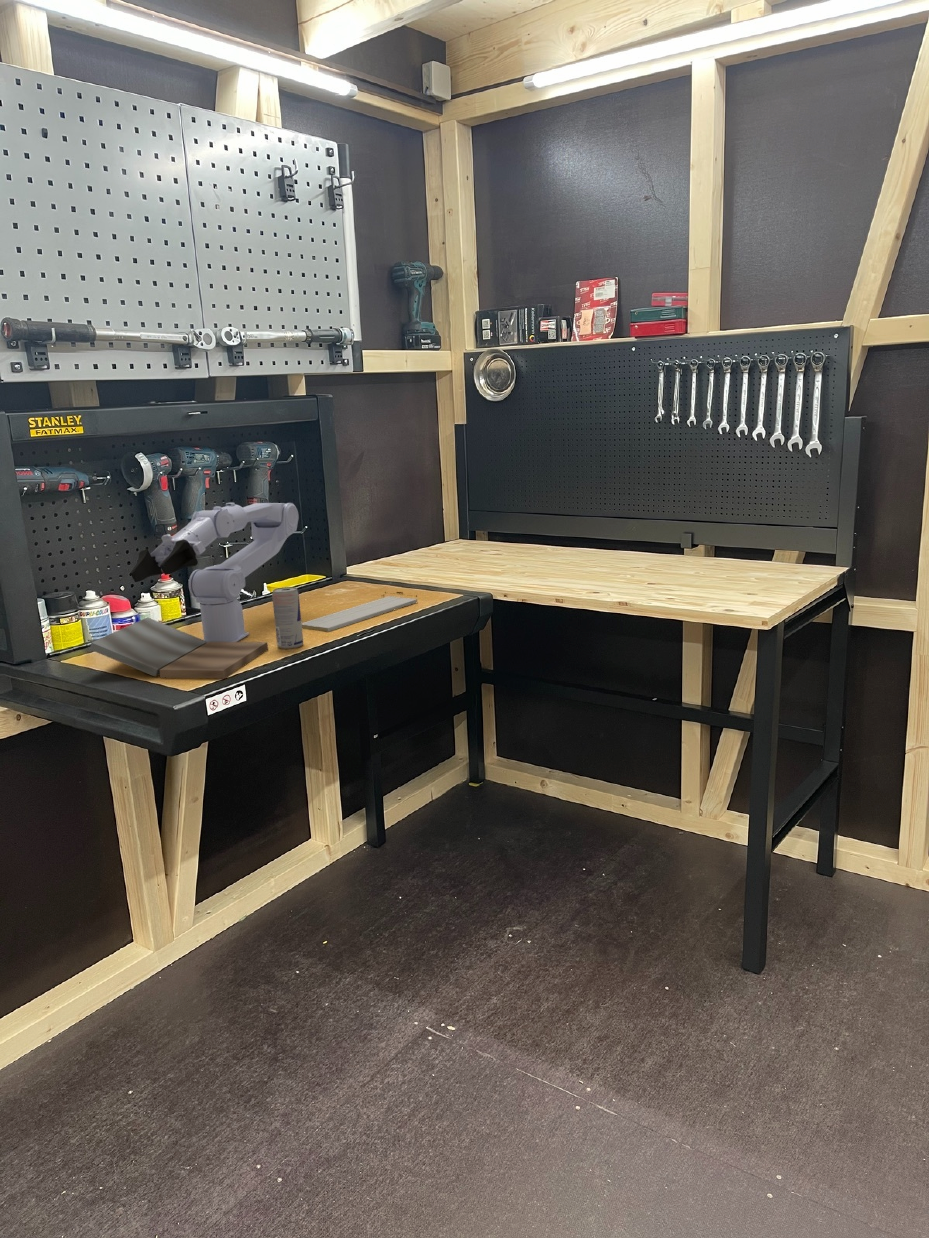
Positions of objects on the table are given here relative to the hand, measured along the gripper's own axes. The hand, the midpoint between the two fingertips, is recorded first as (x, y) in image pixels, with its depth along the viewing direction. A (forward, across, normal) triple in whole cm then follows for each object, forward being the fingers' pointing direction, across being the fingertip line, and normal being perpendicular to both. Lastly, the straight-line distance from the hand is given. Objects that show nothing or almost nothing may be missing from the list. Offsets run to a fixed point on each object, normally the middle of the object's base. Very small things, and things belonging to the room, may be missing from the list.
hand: (148, 573), depth 175 cm
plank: (+1, -9, +15) cm, 17 cm away
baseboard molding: (-41, +11, +36) cm, 55 cm away
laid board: (0, +4, +21) cm, 22 cm away
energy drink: (-14, +12, +27) cm, 32 cm away
